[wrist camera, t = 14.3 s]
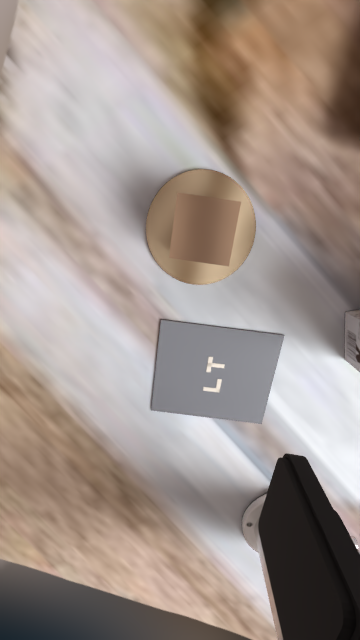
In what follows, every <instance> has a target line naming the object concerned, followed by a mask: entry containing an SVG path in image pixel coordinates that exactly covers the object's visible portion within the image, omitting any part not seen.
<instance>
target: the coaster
mask: <svg viewBox="0 0 360 640" xmlns="http://www.w3.org/2000/svg"><path fill="white" fill-rule="evenodd" d="M177 192H179V193H186V194H192V195H199V196H206V197H213V198H219V199H226V200H233V201H240V202H241V206H240V211H239V216H238V221H237V227H236V232H235V237H234V242H233V248H232V253H231V258H230V263H229V266H222V265H215V264H208V263H201V262H194V261H187V260H180V259H173V258H169V254H170V246H171V238H172V230H173V222H174V214H175V206H176V198H177ZM255 231H256V221H255V214H254V210H253V206H252V204H251V201H250V199H249V197H248V196H247V194H246V192H245V191H244V190H243V188H242V187H241V186H240V185H239V184H238V183H237V182H236V181H234V180H233V179H232V178H230V177H228V176H227V175H225V174H222V173H220V172H217V171H213V170H205V169H199V170H191V171H187V172H184V173H182V174H179V175H177V176H176V177H174V178H172V179H171V180H170V181H168V182H167V183H166V184H165V185H164V186H163V187H162V188H161V189H160V190H159V192H158V193H157V194H156V196H155V198H154V199H153V201H152V203H151V206H150V208H149V212H148V215H147V221H146V235H147V241H148V245H149V248H150V251H151V253H152V255H153V257H154V259H155V260H156V262H157V263H158V265H159V266H160V267H161V268H162V269H163V270H164V271H165V272H166V273H167V274H169V275H170V276H172V277H173V278H175V279H177V280H179V281H182V282H185V283H189V284H197V285H203V284H210V283H214V282H217V281H220V280H222V279H224V278H226V277H228V276H229V275H231V274H232V273H233V272H235V271H236V270H237V269H238V268H239V267H240V266H241V265H242V264H243V262H244V261H245V259H246V258H247V256H248V254H249V253H250V250H251V248H252V245H253V242H254V238H255Z"/></svg>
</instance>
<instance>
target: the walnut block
mask: <svg viewBox="0 0 360 640" xmlns="http://www.w3.org/2000/svg"><path fill="white" fill-rule="evenodd" d="M240 206H241V202H240V201H233V200H226V199H219V198H213V197H206V196H199V195H192V194H186V193H179V192H177V198H176V206H175V214H174V222H173V230H172V238H171V246H170V254H169V258H173V259H180V260H187V261H194V262H201V263H208V264H215V265H222V266H229V263H230V258H231V253H232V248H233V242H234V237H235V232H236V227H237V221H238V216H239V211H240Z"/></svg>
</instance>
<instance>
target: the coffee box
mask: <svg viewBox="0 0 360 640" xmlns="http://www.w3.org/2000/svg"><path fill="white" fill-rule="evenodd" d="M345 360H346V361H347V362H348V363H350V364H351V365H352V366H353V367H354V368H356V369H357V370H358V371H359V372H360V310H354V311H348V312H346V313H345Z"/></svg>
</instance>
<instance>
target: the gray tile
mask: <svg viewBox="0 0 360 640" xmlns="http://www.w3.org/2000/svg"><path fill="white" fill-rule="evenodd" d="M283 338H284V335H279V334H271V333H264V332H256V331H248V330H240V329H232V328H224V327H216V326H209V325H201V324H193V323H185V322H177V321H169V320H161V324H160V333H159V343H158V352H157V361H156V370H155V380H154V389H153V398H152V407H151V410H153V411H161V412H169V413H177V414H185V415H193V416H201V417H209V418H217V419H225V420H234V421H242V422H250V423H258V424H262V420H263V416H264V412H265V408H266V404H267V401H268V397H269V393H270V389H271V385H272V381H273V377H274V373H275V369H276V366H277V362H278V358H279V354H280V350H281V346H282V342H283Z"/></svg>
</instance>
